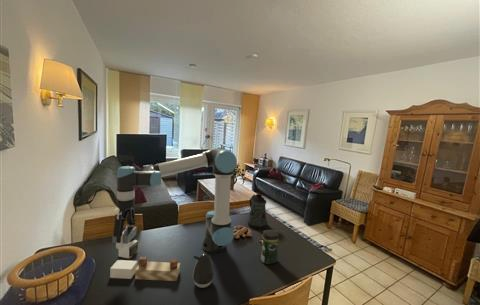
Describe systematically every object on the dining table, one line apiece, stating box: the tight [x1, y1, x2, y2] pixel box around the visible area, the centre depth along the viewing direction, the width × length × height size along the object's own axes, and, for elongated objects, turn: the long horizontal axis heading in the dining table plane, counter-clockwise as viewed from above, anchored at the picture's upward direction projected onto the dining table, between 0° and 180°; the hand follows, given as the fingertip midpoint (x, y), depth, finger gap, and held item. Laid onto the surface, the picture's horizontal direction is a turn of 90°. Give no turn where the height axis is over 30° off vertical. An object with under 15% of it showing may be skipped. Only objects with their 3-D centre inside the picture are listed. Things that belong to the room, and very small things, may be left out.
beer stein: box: [246, 193, 268, 230], centre depth 169 cm, size 16×19×25 cm
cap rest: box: [109, 259, 138, 280], centre depth 103 cm, size 10×6×5 cm, turn 92°
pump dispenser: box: [192, 252, 215, 289], centre depth 100 cm, size 10×10×15 cm
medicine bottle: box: [118, 236, 139, 259], centre depth 119 cm, size 7×7×12 cm
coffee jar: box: [260, 229, 280, 265], centre depth 122 cm, size 10×8×19 cm
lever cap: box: [111, 225, 138, 244], centre depth 101 cm, size 7×9×5 cm
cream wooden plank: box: [134, 256, 181, 282], centre depth 104 cm, size 20×6×9 cm, turn 92°
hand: (124, 242), depth 102 cm, fingers closed on lever cap, 9 cm apart
